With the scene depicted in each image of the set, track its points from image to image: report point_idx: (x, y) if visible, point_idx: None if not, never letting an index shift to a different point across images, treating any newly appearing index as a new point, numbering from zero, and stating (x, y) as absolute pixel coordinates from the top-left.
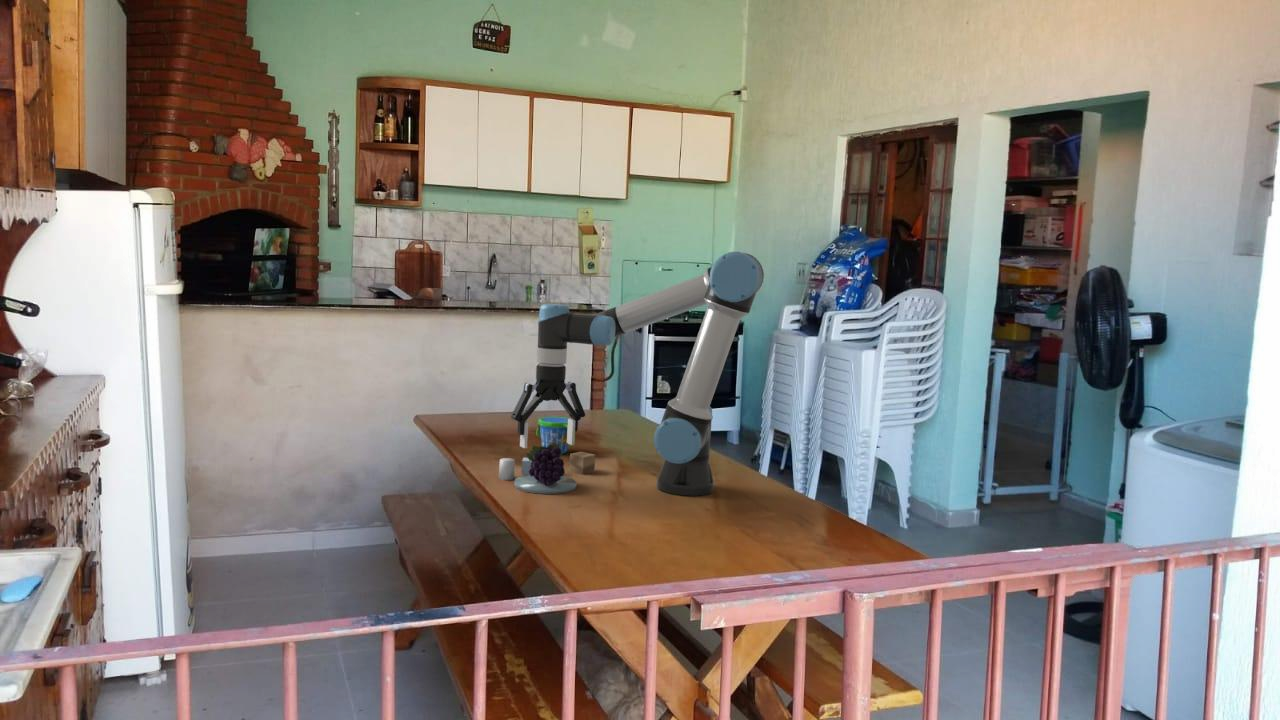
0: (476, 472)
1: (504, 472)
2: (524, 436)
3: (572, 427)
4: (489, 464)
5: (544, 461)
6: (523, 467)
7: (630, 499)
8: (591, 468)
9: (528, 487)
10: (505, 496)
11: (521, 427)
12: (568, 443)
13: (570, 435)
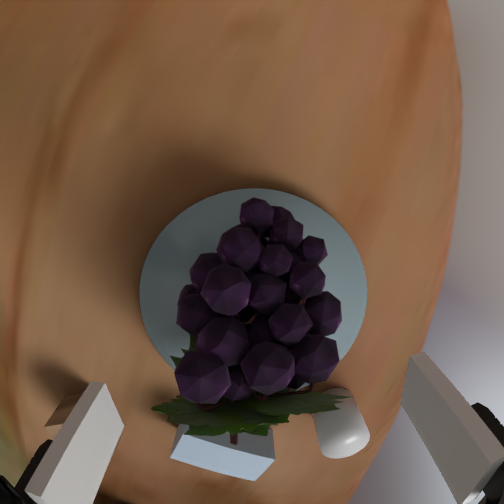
0: (372, 447)
1: (353, 404)
2: (457, 398)
3: (61, 460)
4: (307, 491)
5: (294, 306)
6: (269, 443)
7: (47, 84)
8: (67, 401)
9: (351, 243)
10: (428, 209)
11: (500, 434)
12: (117, 412)
13: (92, 434)
